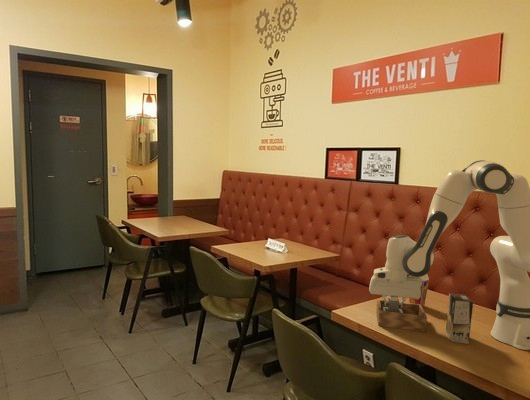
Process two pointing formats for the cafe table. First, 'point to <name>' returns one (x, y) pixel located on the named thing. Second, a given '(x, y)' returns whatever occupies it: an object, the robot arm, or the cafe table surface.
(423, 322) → the crate
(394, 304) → the plug
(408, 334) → the cafe table surface
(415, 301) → the smoothie
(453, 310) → the coffee box
